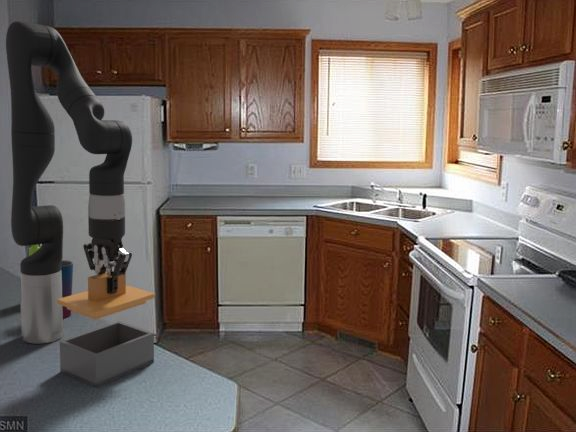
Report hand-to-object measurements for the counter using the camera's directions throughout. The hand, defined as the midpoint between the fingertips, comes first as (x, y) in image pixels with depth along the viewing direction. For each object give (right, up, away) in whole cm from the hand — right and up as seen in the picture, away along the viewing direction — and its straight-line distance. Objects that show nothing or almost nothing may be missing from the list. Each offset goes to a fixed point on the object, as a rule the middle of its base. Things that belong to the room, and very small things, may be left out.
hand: (107, 291), depth 123 cm
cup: (-23, -11, +33) cm, 42 cm away
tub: (-1, -17, +3) cm, 18 cm away
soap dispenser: (-34, -9, +42) cm, 55 cm away
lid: (0, -3, +1) cm, 3 cm away
